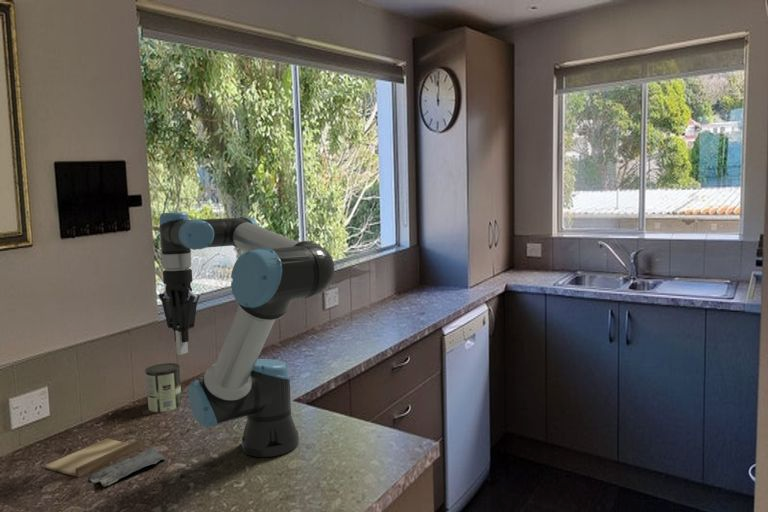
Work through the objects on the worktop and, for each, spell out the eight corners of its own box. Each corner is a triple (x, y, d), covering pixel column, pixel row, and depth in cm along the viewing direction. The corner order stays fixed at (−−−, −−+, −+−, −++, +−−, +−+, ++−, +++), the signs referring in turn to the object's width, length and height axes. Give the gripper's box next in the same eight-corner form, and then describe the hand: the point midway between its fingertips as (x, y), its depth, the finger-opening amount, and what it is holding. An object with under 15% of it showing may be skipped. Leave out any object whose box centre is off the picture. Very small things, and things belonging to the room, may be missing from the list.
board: (139, 448, 155) (139, 440, 155) (78, 477, 139) (78, 469, 139) (106, 440, 161) (106, 433, 161) (44, 467, 145) (44, 460, 145)
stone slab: (150, 445, 153) (172, 452, 147) (151, 452, 153) (173, 459, 147) (82, 474, 138) (104, 483, 132) (83, 482, 138) (105, 491, 133)
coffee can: (168, 402, 191) (166, 361, 190) (189, 408, 185) (186, 365, 184) (141, 412, 182) (138, 369, 181) (161, 418, 177) (158, 373, 175)
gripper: (205, 267, 157) (210, 352, 159) (170, 266, 163) (175, 348, 165) (184, 271, 150) (190, 359, 152) (149, 269, 156) (154, 354, 158)
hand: (182, 353), depth 159 cm, fingers closed
